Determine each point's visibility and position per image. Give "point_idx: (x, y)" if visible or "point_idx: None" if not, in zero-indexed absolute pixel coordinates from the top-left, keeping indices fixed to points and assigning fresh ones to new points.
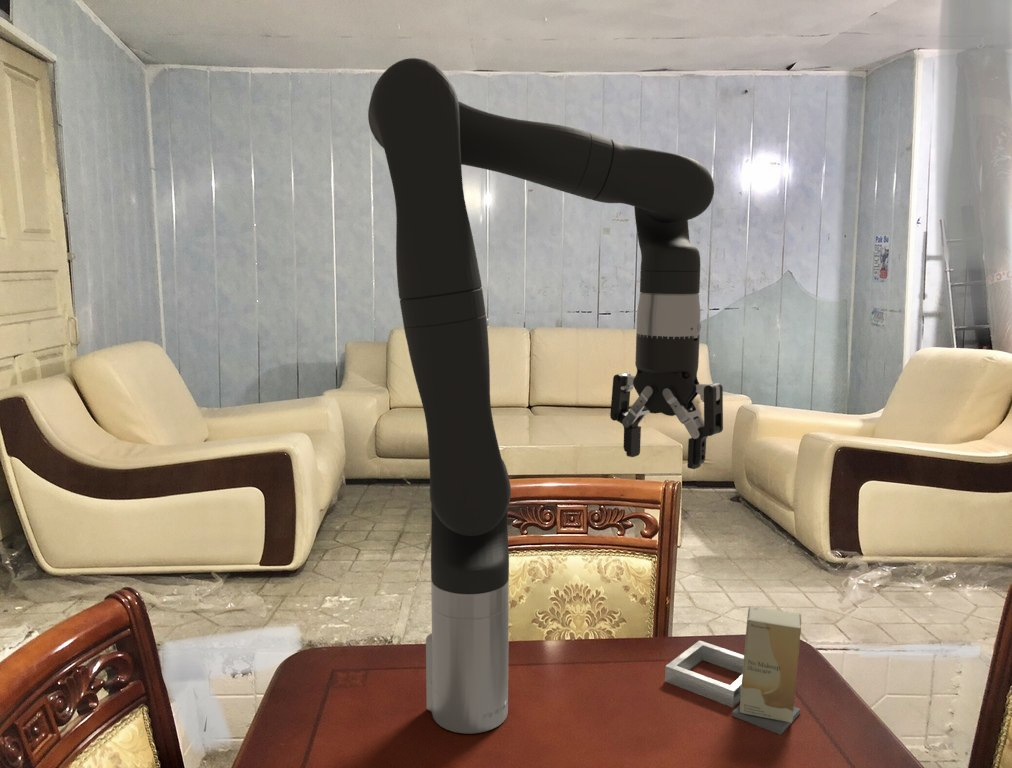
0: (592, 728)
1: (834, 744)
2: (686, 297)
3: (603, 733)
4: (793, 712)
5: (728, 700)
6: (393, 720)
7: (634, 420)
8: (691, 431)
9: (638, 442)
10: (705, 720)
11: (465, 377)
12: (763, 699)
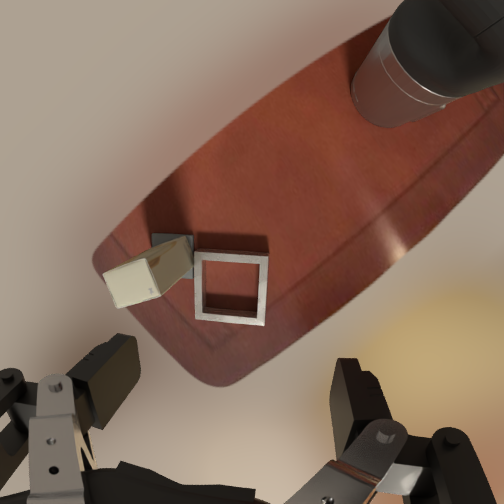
0: (284, 137)
1: (121, 246)
2: None
3: (271, 136)
4: None
5: (202, 249)
6: None
7: (347, 452)
8: (61, 392)
9: (335, 417)
10: (209, 213)
11: None
12: (162, 244)
